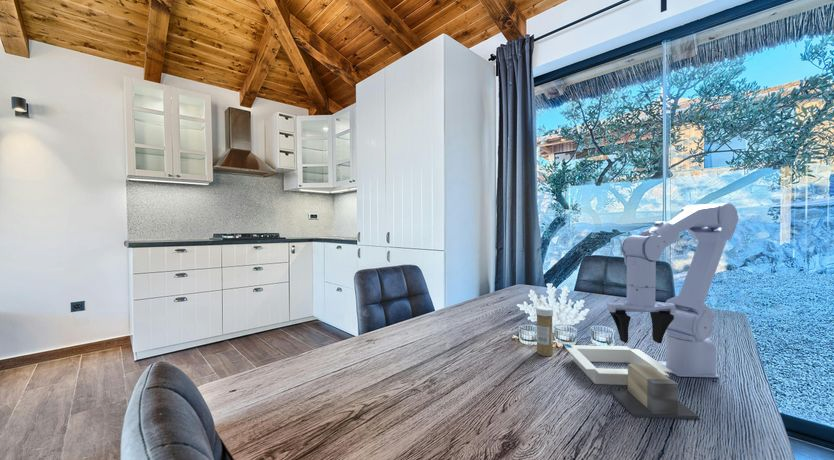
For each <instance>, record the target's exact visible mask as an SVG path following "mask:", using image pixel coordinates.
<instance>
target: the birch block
mask: <svg viewBox="0 0 834 460" xmlns="http://www.w3.org/2000/svg"><path fill="white" fill-rule="evenodd" d="M627 369H628V385H627V391H629V392H630V393H631V394H632V395H633V396H635V397H636V398H637V399H638V400H639V401H640V402H641V403H642V404H643V405H644V406H645V407H647V409H648V410H649V411H650V412H651V413H653V414H672V415H678V401H679V383H677V382H676V381H675V380H673V379H672V378H671V379H670V378H669V376H665V375H663V374H662V373H660V372H659V371H658V370H656V369H655V368H653V367H652V366H650V365H649V364H631V363H627Z"/></svg>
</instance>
